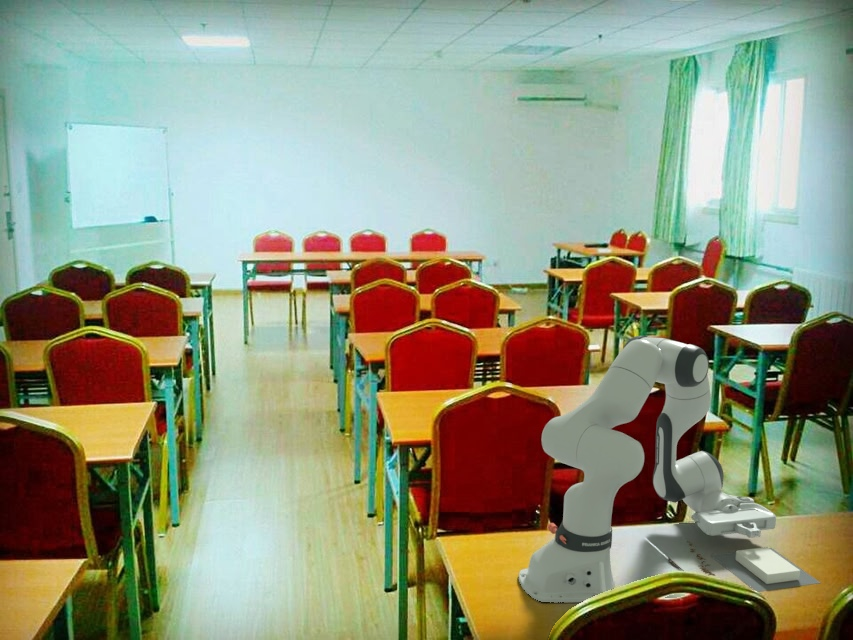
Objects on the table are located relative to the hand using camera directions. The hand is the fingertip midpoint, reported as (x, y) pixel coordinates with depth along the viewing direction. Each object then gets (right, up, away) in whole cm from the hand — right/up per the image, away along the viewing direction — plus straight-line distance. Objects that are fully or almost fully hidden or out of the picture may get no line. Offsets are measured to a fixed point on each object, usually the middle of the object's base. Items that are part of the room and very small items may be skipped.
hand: (755, 534), depth 196 cm
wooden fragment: (-16, -7, +4) cm, 18 cm away
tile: (0, -5, +2) cm, 6 cm away
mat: (+1, -8, -2) cm, 9 cm away
